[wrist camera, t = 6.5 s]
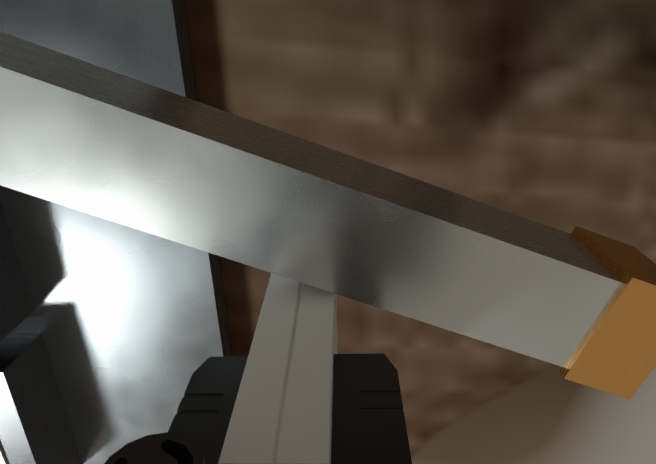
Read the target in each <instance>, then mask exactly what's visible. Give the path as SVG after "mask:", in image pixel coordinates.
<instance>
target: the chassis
mask: <svg viewBox="0 0 656 464" xmlns="http://www.w3.org/2000/svg"><path fill="white" fill-rule="evenodd" d="M0 32H3V33H6V34H9V35H12V36H15V37H17V38H20V39H23V40H26V41H29V42H31V43H34V44H37V45H40V46H43V47H46V48H48V49H51V50H54V51H57V52H60V53H62V54H65V55H68V56H71V57H74V58H77V59H79V60H82V61H85V62H88V63H91V64H93V65H96V66H99V67H102V68H105V69H108V70H110V71H113V72H116V73H119V74H122V75H124V76H127V77H130V78H133V79H136V80H139V81H141V82H144V83H147V84H150V85H153V86H155V87H158V88H161V89H164V90H167V91H170V92H172V93H175V94H178V95H181V96H184V97H186V98H189V99H192V100H195V101H197V95H196V88H195V80H194V73H193V66H192V58H191V51H190V44H189V36H188V29H187V22H186V14H185V7H184V0H0ZM0 201H1V204H2V207H3V210H4V214H5V217H6V220H7V223H8V226H9V230H10V233H11V236H12V239H13V243H14V246H15V249H16V252H17V255H18V259H19V262H20V265H21V268H22V271H23V275H24V278H25V281H26V284H27V287H28V291H29V294H30V297H31V300H32V303H33V307H34V311H33V312H32V313H31V314H30V315H29V316H28V317H27V318H26V319H24V320H23V321H22V322H21V323H20V324H19V325H18V326H17V327H16V328H15V329H14V330H13V331H12V332H42V336H43V339H44V342H45V345H46V348H47V352H48V355H49V358H50V361H51V364H52V368H53V371H54V374H55V377H56V380H57V384H58V387H59V390H60V393H61V396H62V400H63V403H64V406H65V409H66V413H67V416H68V419H69V422H70V425H71V429H72V432H73V435H74V438H75V441H76V445H77V448H78V451H79V454H80V457H81V461H82V464H104V463H105V462H106V461H107V460H108V458H109V457H110V456H111V455H113V454H114V453H115V452H117V451H118V450H119V449H121V448H122V447H123V446H125V445H126V444H127V443H130V442H132V441H135V440H137V439H139V438H142V437H144V436H147V435H152V434H159V433H166V432H167V433H168V430H169V428H170V426H171V423H172V421H173V419H174V416H175V415H177V409H178V407H179V404H180V402H181V400H182V398H184V393H185V390H186V388H187V385H188V383H189V381H190V378H191V376H192V374H193V373H194V372H195V371H196V370H197V369H198V368H199V367H200V366H201V365H202V364H203V363H204V362H205V361H206V360H207V359H208V358H209V357H232V351H231V344H230V337H229V329H228V322H227V315H226V307H225V300H224V293H223V285H222V278H221V271H220V263H219V256H218V255H215V254H211V253H208V252H205V251H202V250H199V249H196V248H193V247H190V246H187V245H184V244H181V243H177V242H174V241H171V240H168V239H165V238H162V237H159V236H156V235H153V234H150V233H146V232H143V231H140V230H137V229H134V228H131V227H128V226H125V225H122V224H119V223H115V222H112V221H109V220H106V219H103V218H100V217H97V216H94V215H91V214H88V213H85V212H81V211H78V210H75V209H72V208H69V207H66V206H63V205H60V204H57V203H54V202H50V201H47V200H44V199H41V198H38V197H35V196H32V195H29V194H26V193H23V192H19V191H16V190H13V189H10V188H7V187H4V186H1V185H0Z"/></svg>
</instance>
